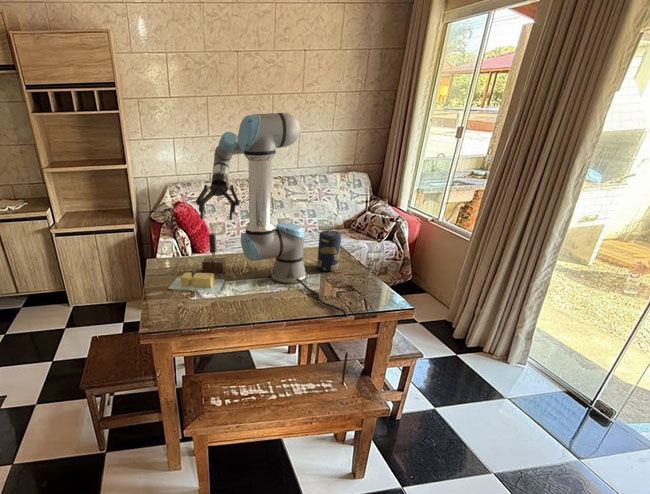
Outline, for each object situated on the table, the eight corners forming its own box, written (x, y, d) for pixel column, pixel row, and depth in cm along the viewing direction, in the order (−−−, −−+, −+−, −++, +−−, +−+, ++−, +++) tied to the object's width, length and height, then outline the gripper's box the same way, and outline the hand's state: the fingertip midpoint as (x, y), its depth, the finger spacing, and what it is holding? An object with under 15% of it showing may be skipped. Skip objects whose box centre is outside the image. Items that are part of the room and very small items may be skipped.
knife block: (225, 270, 190) (225, 258, 187) (223, 275, 185) (222, 262, 182) (206, 269, 192) (205, 257, 189) (203, 274, 187) (202, 261, 184)
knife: (217, 269, 189) (215, 233, 180) (216, 271, 186) (214, 235, 178) (212, 268, 189) (210, 233, 181) (211, 271, 187) (208, 235, 178)
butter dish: (225, 282, 178) (224, 279, 177) (219, 293, 168) (218, 291, 167) (177, 279, 182) (176, 277, 182) (168, 290, 172) (168, 288, 171)
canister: (342, 268, 187) (346, 229, 178) (331, 274, 181) (335, 234, 172) (323, 263, 193) (327, 226, 184) (312, 269, 187) (315, 230, 178)
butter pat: (192, 281, 177) (191, 272, 175) (188, 286, 172) (187, 277, 170) (185, 280, 178) (184, 272, 176) (181, 286, 173) (180, 277, 171)
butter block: (214, 282, 176) (213, 273, 174) (211, 287, 170) (210, 278, 168) (196, 281, 177) (195, 272, 175) (192, 286, 172) (192, 278, 170)
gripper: (247, 182, 192) (243, 222, 187) (195, 181, 196) (191, 221, 191) (245, 172, 185) (242, 214, 180) (192, 172, 189) (187, 213, 184)
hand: (215, 218), depth 186 cm, fingers open, 13 cm apart
